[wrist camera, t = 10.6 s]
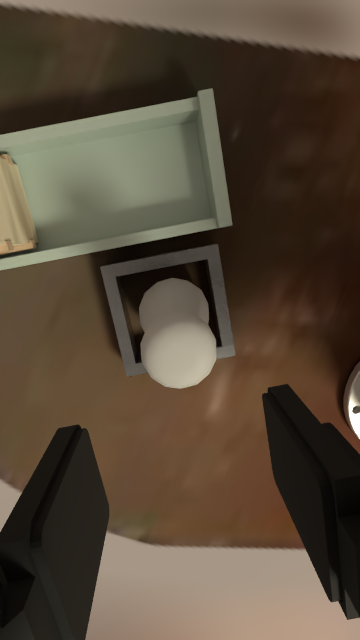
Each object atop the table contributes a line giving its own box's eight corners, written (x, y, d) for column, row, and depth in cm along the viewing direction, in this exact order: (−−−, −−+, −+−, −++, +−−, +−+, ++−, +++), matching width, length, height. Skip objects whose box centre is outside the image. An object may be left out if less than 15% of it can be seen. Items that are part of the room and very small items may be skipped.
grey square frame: (213, 243, 30) (217, 243, 27) (230, 346, 32) (235, 355, 29) (105, 264, 30) (100, 266, 27) (129, 366, 32) (126, 376, 29)
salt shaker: (155, 264, 30) (149, 284, 17) (215, 289, 31) (252, 326, 18) (131, 324, 31) (109, 385, 18) (189, 347, 32) (206, 420, 19)
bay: (205, 109, 27) (212, 88, 23) (223, 226, 29) (232, 225, 25) (-85, 165, 27) (-126, 153, 23) (-45, 278, 29) (-77, 285, 25)
